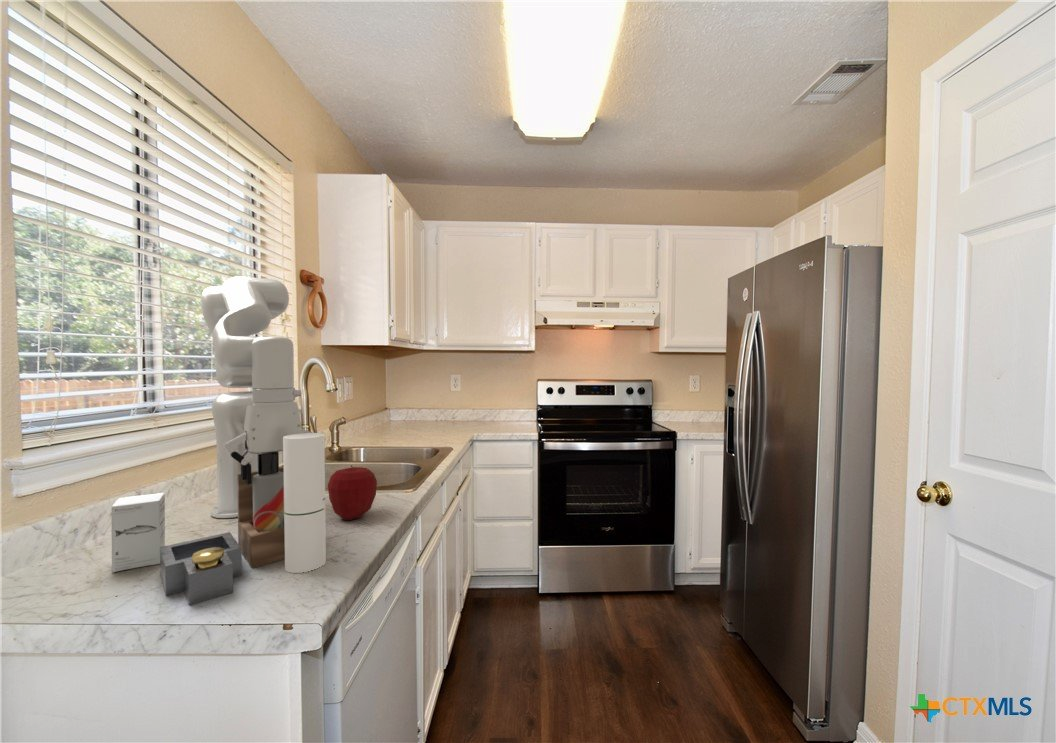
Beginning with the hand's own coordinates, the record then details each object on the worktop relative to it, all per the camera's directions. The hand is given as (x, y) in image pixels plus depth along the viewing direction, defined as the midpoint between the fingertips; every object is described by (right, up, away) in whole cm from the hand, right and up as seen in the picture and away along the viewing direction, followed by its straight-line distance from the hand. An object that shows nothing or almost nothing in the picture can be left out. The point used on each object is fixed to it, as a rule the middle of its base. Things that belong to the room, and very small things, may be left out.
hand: (274, 478), depth 94 cm
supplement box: (-24, -16, -5) cm, 29 cm away
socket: (-6, -15, -13) cm, 21 cm away
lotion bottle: (-1, -14, -1) cm, 14 cm away
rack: (0, -15, 0) cm, 15 cm away
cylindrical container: (+10, -15, -7) cm, 19 cm away
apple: (+8, -15, +21) cm, 27 cm away
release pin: (-2, -14, -17) cm, 22 cm away
